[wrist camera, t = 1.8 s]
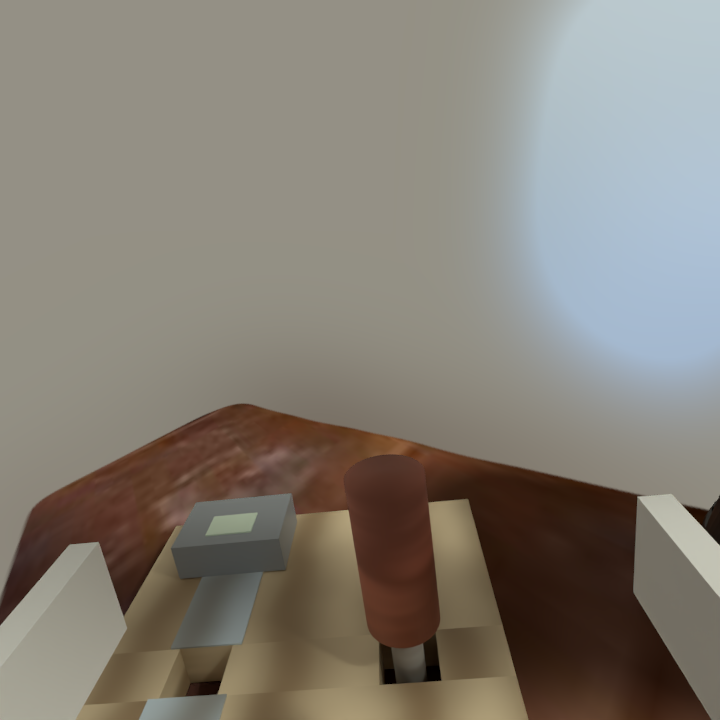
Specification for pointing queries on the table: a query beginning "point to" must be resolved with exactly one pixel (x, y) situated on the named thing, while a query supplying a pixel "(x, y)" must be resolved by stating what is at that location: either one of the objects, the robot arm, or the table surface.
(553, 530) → the table surface
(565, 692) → the table surface
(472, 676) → the board
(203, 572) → the block
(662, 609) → the robot arm
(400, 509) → the awl
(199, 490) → the table surface
